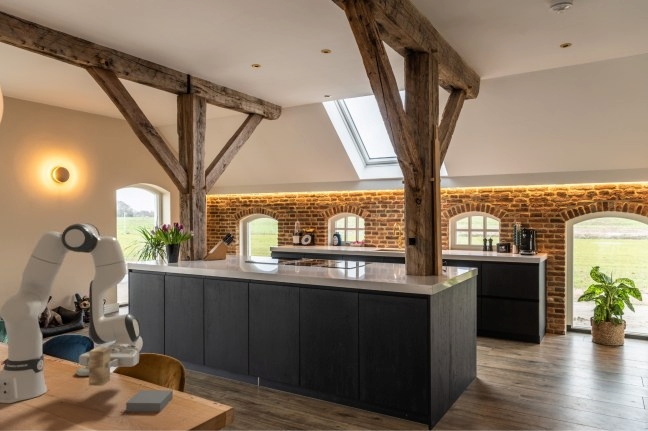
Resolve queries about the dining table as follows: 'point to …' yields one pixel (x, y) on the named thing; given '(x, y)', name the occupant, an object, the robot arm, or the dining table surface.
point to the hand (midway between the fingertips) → (98, 365)
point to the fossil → (83, 371)
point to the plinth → (149, 400)
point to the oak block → (99, 366)
